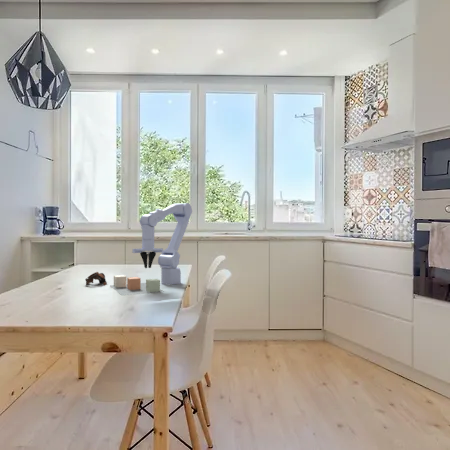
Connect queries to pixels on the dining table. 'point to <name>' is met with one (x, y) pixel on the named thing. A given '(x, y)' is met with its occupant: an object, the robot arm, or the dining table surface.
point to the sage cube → (152, 285)
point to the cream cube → (120, 281)
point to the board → (129, 292)
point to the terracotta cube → (133, 283)
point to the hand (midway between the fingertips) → (147, 267)
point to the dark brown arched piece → (96, 278)
